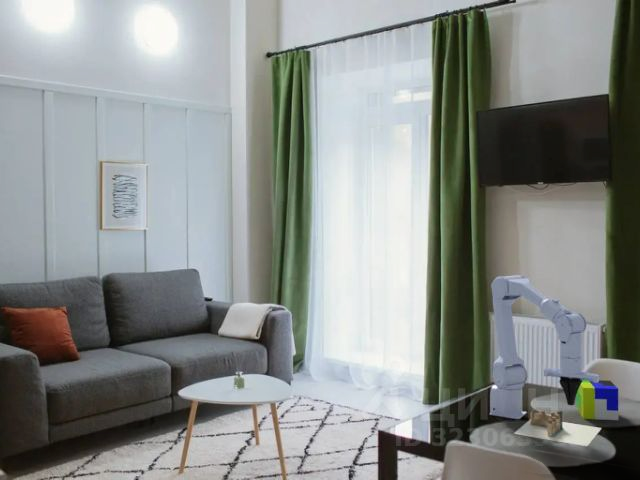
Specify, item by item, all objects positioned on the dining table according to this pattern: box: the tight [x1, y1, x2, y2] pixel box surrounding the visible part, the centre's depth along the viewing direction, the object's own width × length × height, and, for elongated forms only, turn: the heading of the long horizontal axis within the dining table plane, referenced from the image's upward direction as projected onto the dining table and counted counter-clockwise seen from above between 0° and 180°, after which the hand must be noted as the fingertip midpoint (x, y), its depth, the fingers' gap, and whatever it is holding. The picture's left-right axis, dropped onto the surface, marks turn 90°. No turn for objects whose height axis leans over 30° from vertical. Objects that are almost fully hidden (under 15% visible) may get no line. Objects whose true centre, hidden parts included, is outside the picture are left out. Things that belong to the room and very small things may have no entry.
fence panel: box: [548, 413, 560, 436], centre depth 186 cm, size 7×1×4 cm, turn 140°
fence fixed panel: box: [529, 408, 563, 429], centre depth 192 cm, size 9×1×5 cm, turn 55°
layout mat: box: [513, 419, 602, 447], centre depth 189 cm, size 20×18×1 cm
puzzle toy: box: [576, 379, 619, 421], centre depth 203 cm, size 10×10×10 cm
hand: (570, 404), depth 184 cm, fingers closed
